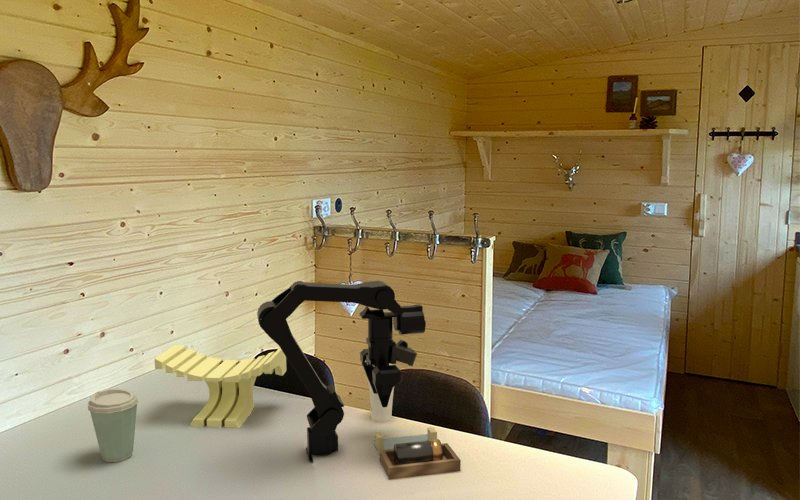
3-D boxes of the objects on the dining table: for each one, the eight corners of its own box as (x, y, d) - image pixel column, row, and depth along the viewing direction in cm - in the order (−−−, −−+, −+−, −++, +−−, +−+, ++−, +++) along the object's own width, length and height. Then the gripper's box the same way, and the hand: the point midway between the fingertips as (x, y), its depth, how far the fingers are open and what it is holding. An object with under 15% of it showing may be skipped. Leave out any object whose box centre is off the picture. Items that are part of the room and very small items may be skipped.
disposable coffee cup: (151, 450, 154) (148, 389, 152) (118, 470, 144) (114, 405, 142) (115, 444, 158) (111, 384, 156) (80, 463, 148) (75, 399, 146)
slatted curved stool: (287, 406, 183) (285, 344, 181) (271, 429, 167) (269, 361, 165) (182, 402, 185) (180, 341, 183) (157, 425, 170) (154, 358, 167)
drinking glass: (391, 427, 169) (391, 371, 167) (365, 425, 170) (365, 369, 168) (396, 417, 175) (396, 363, 173) (372, 415, 177) (372, 361, 175)
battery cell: (399, 468, 142) (397, 444, 143) (394, 467, 146) (392, 443, 148) (444, 463, 144) (441, 439, 145) (437, 462, 149) (435, 438, 150)
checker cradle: (379, 460, 150) (379, 443, 150) (371, 443, 159) (371, 428, 158) (441, 453, 154) (441, 436, 153) (430, 437, 163) (430, 422, 162)
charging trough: (389, 483, 139) (389, 468, 139) (379, 465, 148) (379, 450, 147) (460, 475, 143) (460, 460, 143) (447, 457, 152) (447, 443, 151)
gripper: (424, 344, 146) (424, 411, 148) (403, 324, 164) (403, 384, 166) (376, 347, 143) (376, 415, 145) (359, 326, 161) (359, 388, 163)
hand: (380, 400), depth 155 cm, fingers open, 9 cm apart
